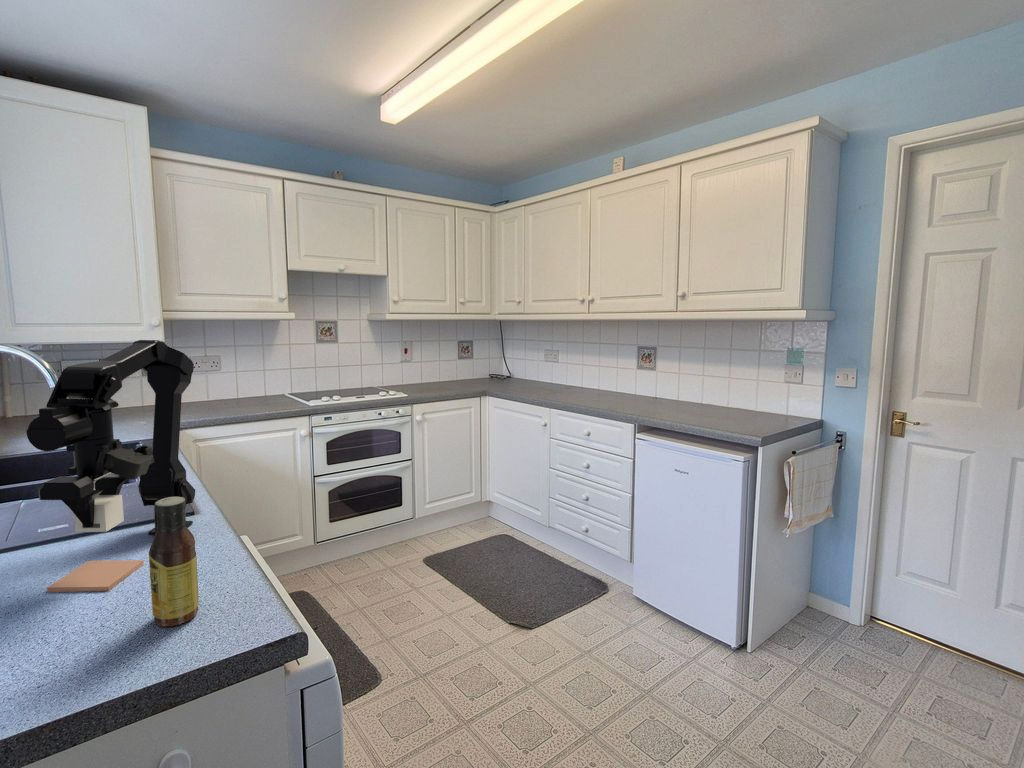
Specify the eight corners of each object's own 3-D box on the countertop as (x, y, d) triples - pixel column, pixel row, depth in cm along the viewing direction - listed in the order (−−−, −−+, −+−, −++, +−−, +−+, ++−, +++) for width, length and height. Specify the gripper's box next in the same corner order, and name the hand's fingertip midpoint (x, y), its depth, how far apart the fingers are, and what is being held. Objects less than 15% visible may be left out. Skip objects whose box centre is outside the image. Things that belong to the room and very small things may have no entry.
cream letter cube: (94, 521, 97) (92, 495, 96) (123, 520, 97) (122, 494, 96) (75, 532, 92) (72, 505, 91) (105, 532, 92) (103, 504, 91)
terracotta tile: (88, 564, 100) (88, 560, 100) (143, 564, 101) (143, 560, 101) (47, 591, 90) (46, 587, 90) (108, 590, 91) (108, 586, 91)
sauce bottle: (158, 611, 85) (151, 494, 83) (201, 604, 88) (196, 490, 85) (148, 634, 79) (140, 509, 77) (195, 625, 82) (189, 504, 79)
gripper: (107, 450, 84) (114, 542, 86) (170, 425, 102) (174, 502, 104) (31, 450, 83) (40, 543, 85) (108, 425, 101) (114, 502, 103)
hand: (99, 520), depth 94 cm, fingers closed on cream letter cube, 5 cm apart
